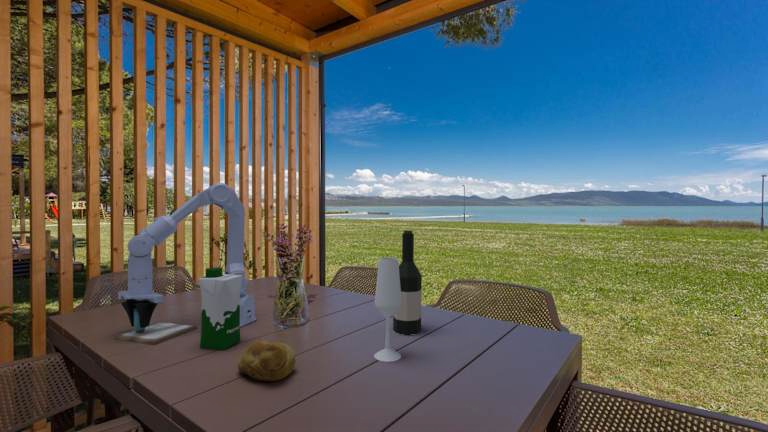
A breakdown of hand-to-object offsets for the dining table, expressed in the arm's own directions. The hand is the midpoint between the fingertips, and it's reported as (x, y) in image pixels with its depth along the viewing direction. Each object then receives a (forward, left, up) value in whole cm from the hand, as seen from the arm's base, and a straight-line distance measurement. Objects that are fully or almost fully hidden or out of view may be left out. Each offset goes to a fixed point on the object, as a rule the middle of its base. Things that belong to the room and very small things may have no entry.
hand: (140, 326), depth 101 cm
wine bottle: (-70, -29, -3) cm, 76 cm away
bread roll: (-48, +9, -3) cm, 49 cm away
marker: (0, 0, -1) cm, 1 cm away
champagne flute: (-70, -9, -3) cm, 71 cm away
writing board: (-3, -3, -3) cm, 5 cm away
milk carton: (-26, -2, -3) cm, 26 cm away
